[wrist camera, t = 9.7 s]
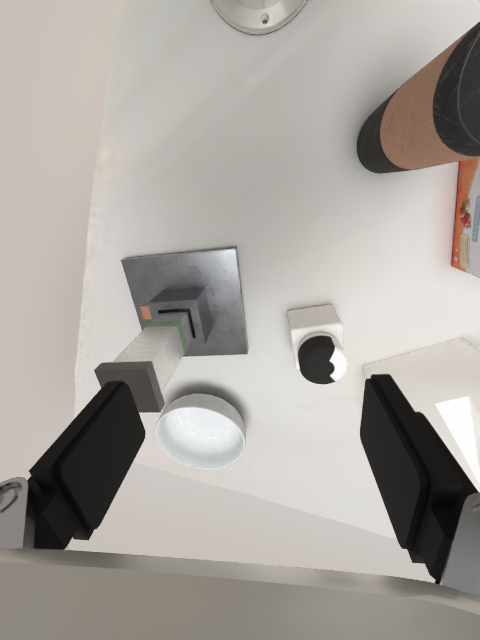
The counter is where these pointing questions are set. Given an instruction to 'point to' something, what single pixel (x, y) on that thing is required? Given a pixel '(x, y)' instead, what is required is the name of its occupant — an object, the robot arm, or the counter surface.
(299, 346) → the medicine bottle
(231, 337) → the stand base
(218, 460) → the cereal bowl
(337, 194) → the counter surface
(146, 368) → the column
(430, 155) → the travel mug
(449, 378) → the white house-shaped block
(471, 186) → the cracker box
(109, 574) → the robot arm
